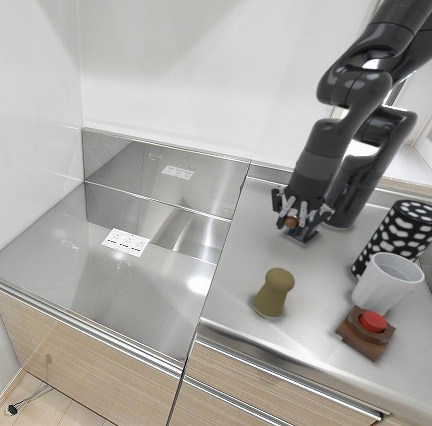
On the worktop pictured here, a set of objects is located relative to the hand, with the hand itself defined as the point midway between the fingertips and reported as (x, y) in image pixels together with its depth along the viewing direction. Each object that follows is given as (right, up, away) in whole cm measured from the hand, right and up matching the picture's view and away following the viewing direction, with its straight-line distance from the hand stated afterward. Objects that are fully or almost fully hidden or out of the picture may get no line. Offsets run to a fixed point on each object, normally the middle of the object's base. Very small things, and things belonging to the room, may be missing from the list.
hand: (287, 231), depth 72 cm
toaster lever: (+5, +3, +2) cm, 6 cm away
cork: (-10, -16, -8) cm, 21 cm away
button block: (+6, -20, -14) cm, 25 cm away
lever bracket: (+10, -2, +10) cm, 14 cm away
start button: (+6, -17, -16) cm, 24 cm away
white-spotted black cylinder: (+18, -11, -2) cm, 21 cm away
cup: (+12, -16, -8) cm, 21 cm away
